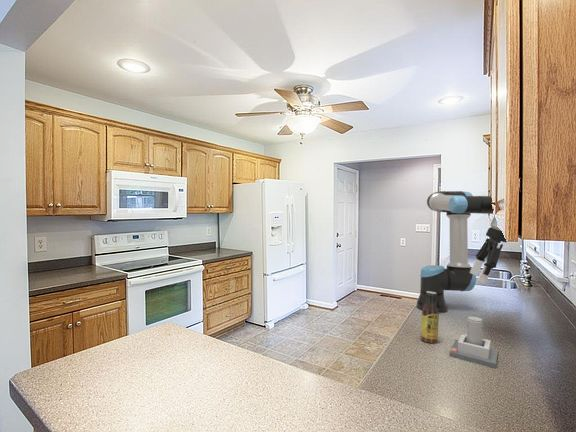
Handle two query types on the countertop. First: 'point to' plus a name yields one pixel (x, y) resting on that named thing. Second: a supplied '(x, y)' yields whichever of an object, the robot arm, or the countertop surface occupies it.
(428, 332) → the sauce bottle
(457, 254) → the robot arm
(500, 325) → the countertop surface
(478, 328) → the beverage can
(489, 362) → the socket plate
